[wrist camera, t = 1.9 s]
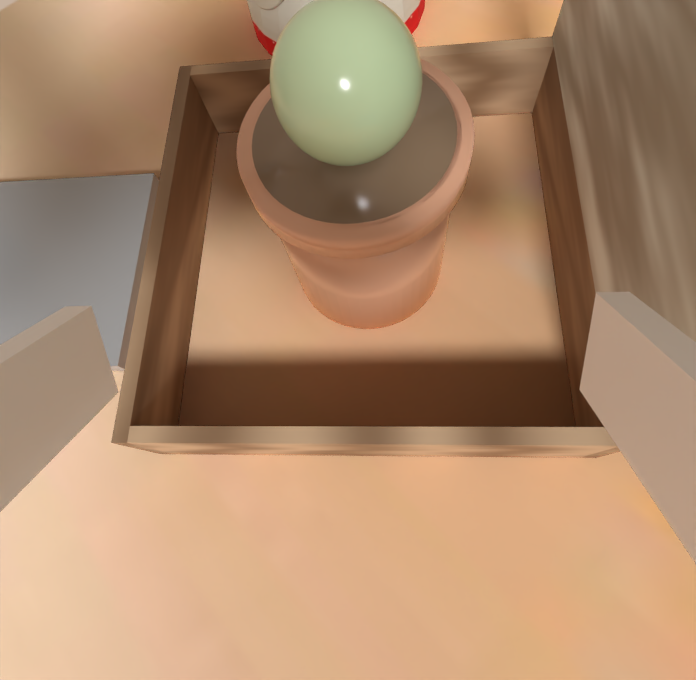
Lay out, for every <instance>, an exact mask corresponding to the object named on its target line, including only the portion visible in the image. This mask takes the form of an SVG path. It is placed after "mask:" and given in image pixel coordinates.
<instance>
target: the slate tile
mask: <svg viewBox="0 0 696 680" xmlns="http://www.w3.org/2000/svg"><path fill="white" fill-rule="evenodd" d="M158 184H159V180H158V178H157V177H156V176H155V174H154V173H151V174H133V175H115V176H97V177H80V178H62V179H44V180H26V181H9V182H0V345H1V344H2V343H4V342H6V341H8V340H9V339H11V338H13V337H14V336H16V335H18V334H19V333H21V332H23V331H25V330H26V329H28V328H30V327H31V326H33V325H35V324H36V323H38V322H40V321H41V320H43V319H45V318H47V317H48V316H50V315H52V314H53V313H55V312H57V311H58V310H60V309H62V308H64V307H65V306H92V309H93V312H94V315H95V318H96V322H97V325H98V328H99V331H100V334H101V338H102V341H103V344H104V347H105V351H106V354H107V357H108V360H109V363H110V367H111V370H112V371H121V370H125V365H126V359H127V354H128V348H129V343H130V337H131V332H132V326H133V321H134V315H135V310H136V304H137V299H138V293H139V288H140V282H141V277H142V271H143V266H144V261H145V255H146V250H147V244H148V239H149V233H150V228H151V222H152V217H153V211H154V206H155V200H156V195H157V189H158Z"/></svg>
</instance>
